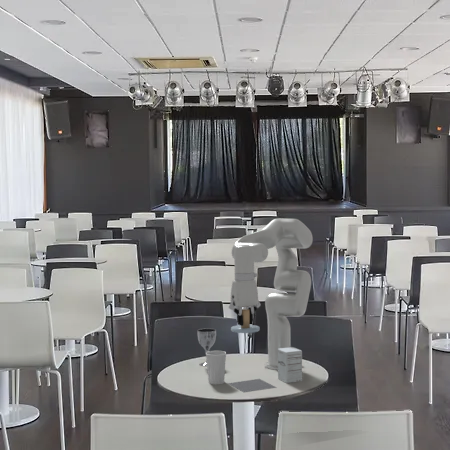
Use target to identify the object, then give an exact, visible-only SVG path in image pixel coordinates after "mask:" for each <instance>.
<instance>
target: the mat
mask: <svg viewBox="0 0 450 450" xmlns="http://www.w3.org/2000/svg"><path fill="white" fill-rule="evenodd" d="M227 384H228V385H229V386H231V387H233V388H235V389H237V390H239V391H240V392H243V393H250V392H255V391H262V390H263V391H264V390H269V389H277V387H276V386H275V385H273V384H271V383H270V382H266V381H265V380H263V379H260V378H257V379H249V380H241V381H236V382H229V383H228V382H227Z"/></svg>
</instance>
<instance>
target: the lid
mask: <svg viewBox="0 0 450 450" xmlns="http://www.w3.org/2000/svg"><path fill="white" fill-rule="evenodd" d="M242 315H243V326H241V325H238V324H237V325H233V326H231V327H230V331H231V332H233V333H236V334H237V333H238V334H254V333H257V332H259V331H260V330H261V329H260V326H259V325H256V324H255V325H253V324H252V325H251V324H250V309H248V308H242Z"/></svg>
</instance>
